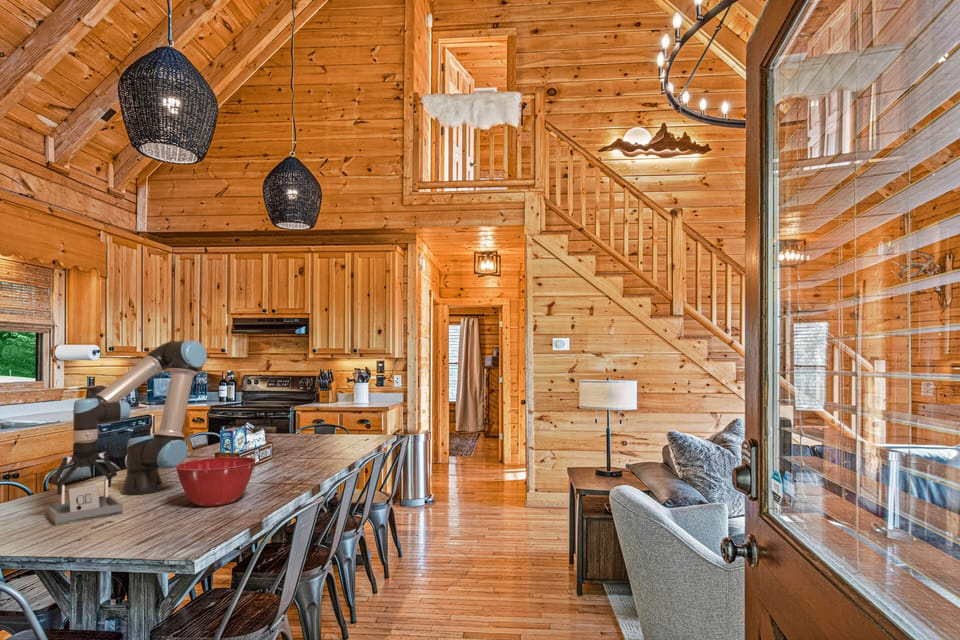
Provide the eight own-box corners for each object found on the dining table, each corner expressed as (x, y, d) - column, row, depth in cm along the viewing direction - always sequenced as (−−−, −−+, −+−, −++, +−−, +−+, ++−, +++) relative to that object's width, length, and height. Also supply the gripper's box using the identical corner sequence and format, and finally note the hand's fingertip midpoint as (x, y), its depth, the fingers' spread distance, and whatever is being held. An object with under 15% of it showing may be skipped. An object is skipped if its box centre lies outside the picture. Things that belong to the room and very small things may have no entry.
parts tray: (109, 504, 228) (110, 495, 228) (122, 513, 214) (122, 504, 214) (46, 514, 214) (46, 505, 215) (55, 525, 200) (55, 515, 200)
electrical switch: (70, 516, 208) (70, 489, 209) (65, 515, 212) (65, 488, 213) (100, 510, 216) (99, 484, 217) (95, 509, 219) (94, 483, 220)
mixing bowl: (199, 493, 242) (199, 456, 243) (267, 493, 241) (267, 455, 242) (159, 512, 214) (159, 470, 215) (236, 512, 213) (236, 469, 214)
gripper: (45, 446, 204) (44, 508, 203) (126, 438, 221) (125, 495, 220) (42, 444, 210) (41, 504, 208) (121, 436, 227) (120, 492, 225)
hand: (84, 500), depth 214 cm, fingers open, 13 cm apart
